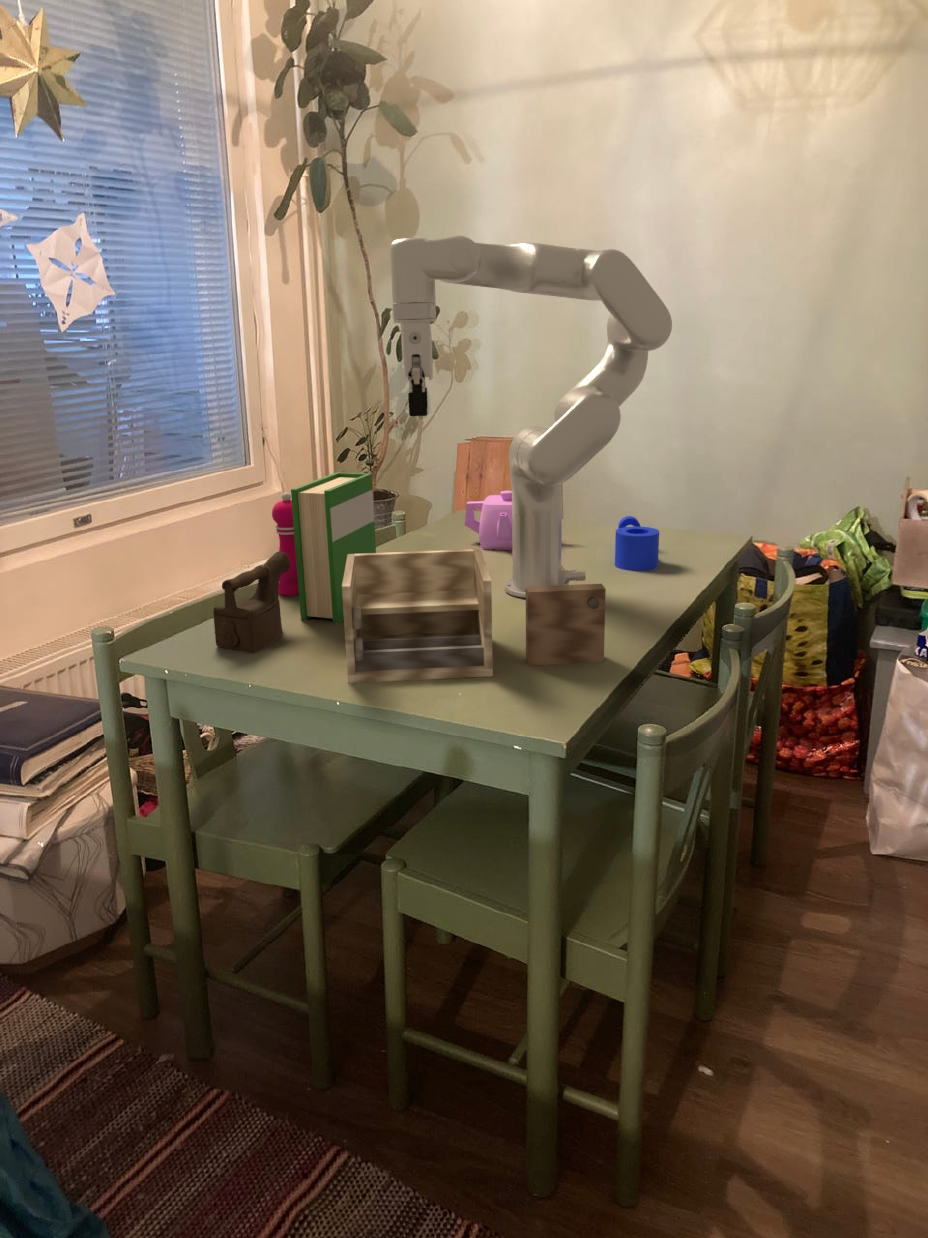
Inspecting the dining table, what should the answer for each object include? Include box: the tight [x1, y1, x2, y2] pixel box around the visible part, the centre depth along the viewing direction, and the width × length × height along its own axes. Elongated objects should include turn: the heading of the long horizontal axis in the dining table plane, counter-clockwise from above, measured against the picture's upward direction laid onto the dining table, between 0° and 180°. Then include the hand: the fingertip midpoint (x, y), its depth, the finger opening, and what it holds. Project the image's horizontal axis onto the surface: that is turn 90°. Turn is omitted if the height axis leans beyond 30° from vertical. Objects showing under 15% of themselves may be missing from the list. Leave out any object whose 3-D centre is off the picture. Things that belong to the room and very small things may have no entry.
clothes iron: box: [212, 550, 290, 653], centre depth 167 cm, size 8×16×13 cm, turn 154°
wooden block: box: [525, 583, 607, 666], centre depth 153 cm, size 12×4×12 cm, turn 94°
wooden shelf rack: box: [342, 548, 494, 684], centre depth 155 cm, size 22×19×15 cm
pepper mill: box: [271, 491, 299, 597], centre depth 192 cm, size 7×7×20 cm
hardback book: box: [290, 471, 377, 625], centre depth 181 cm, size 18×7×24 cm, turn 161°
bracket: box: [614, 515, 660, 572], centre depth 212 cm, size 20×9×8 cm, turn 177°
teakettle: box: [464, 490, 512, 551], centre depth 228 cm, size 17×17×12 cm
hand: (418, 412), depth 177 cm, fingers open, 9 cm apart
